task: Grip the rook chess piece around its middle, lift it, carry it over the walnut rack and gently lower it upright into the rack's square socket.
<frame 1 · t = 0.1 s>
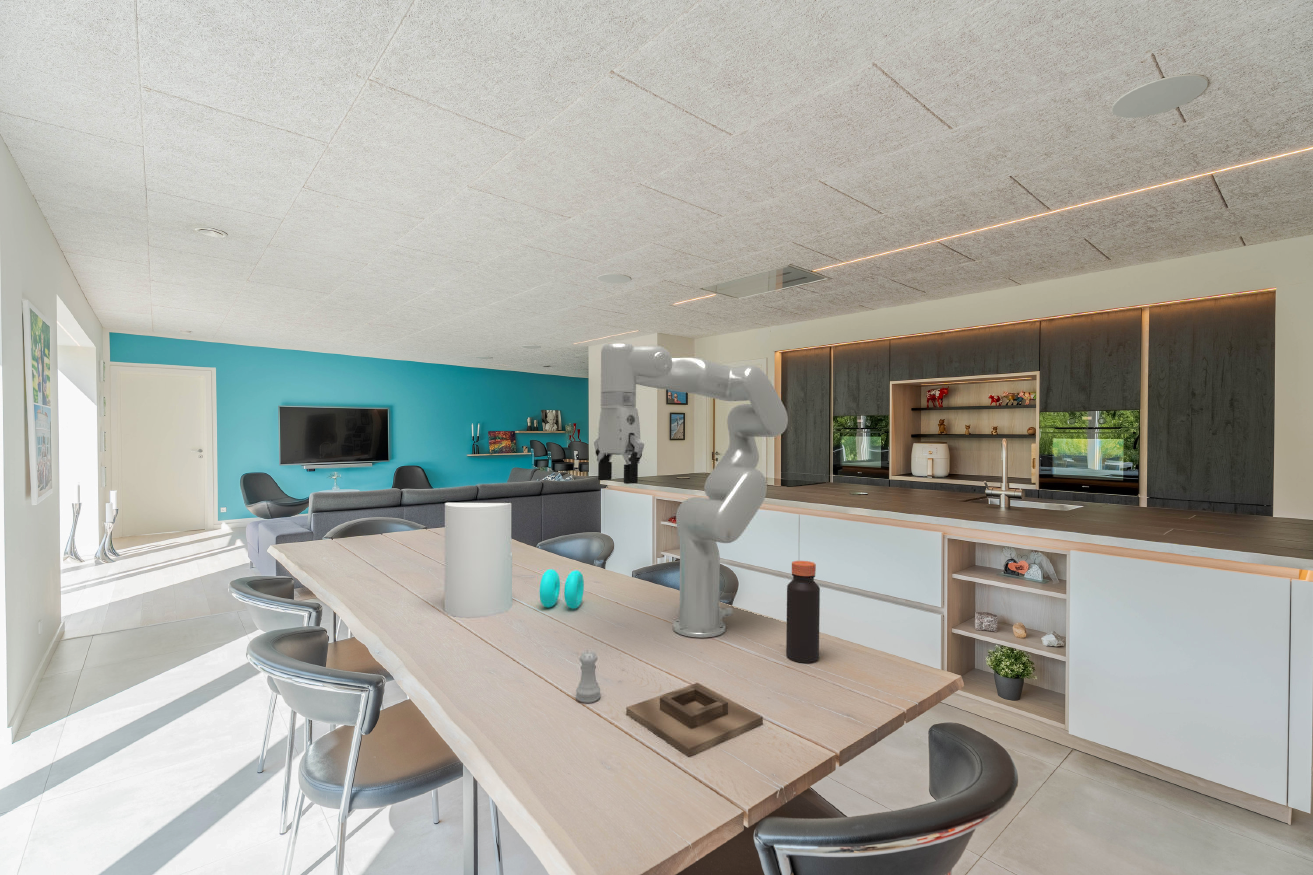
hand: (617, 481, 125), 37 cm above the table, tool pointing down, fingers open, 9 cm apart
donuts: (562, 607, 157), on the table
bottle: (802, 658, 124), on the table
cylinder: (478, 607, 156), on the table
walnut rack: (693, 718, 97), on the table
rook chess piece: (588, 699, 104), on the table
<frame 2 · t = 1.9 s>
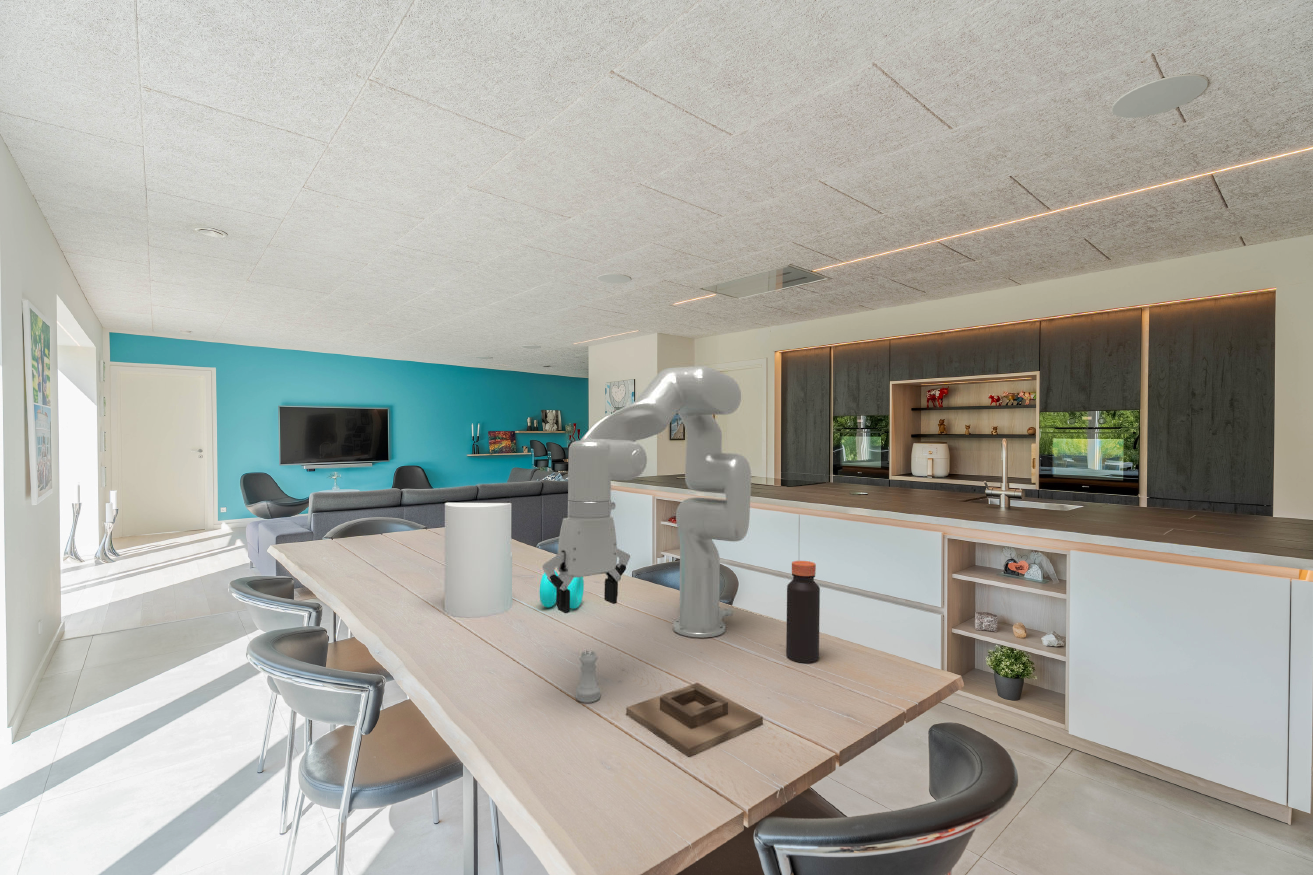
hand: (587, 606, 104), 16 cm above the table, tool pointing down, fingers open, 9 cm apart
nothing on the table moved.
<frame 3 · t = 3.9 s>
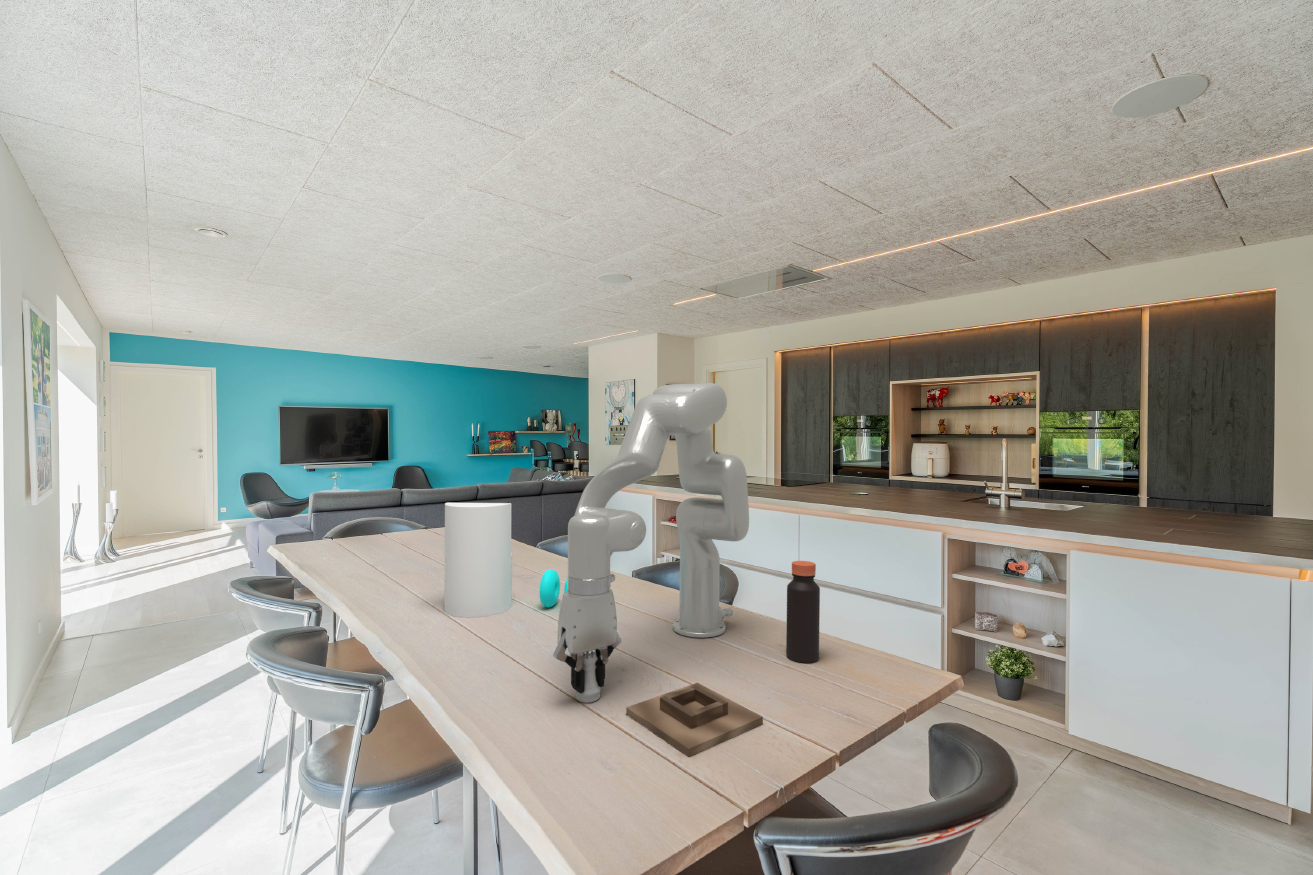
hand: (588, 686, 104), 2 cm above the table, tool pointing down, fingers closed on rook chess piece, 3 cm apart
rook chess piece: (588, 698, 104), on the table, touching gripper
everything else where it was.
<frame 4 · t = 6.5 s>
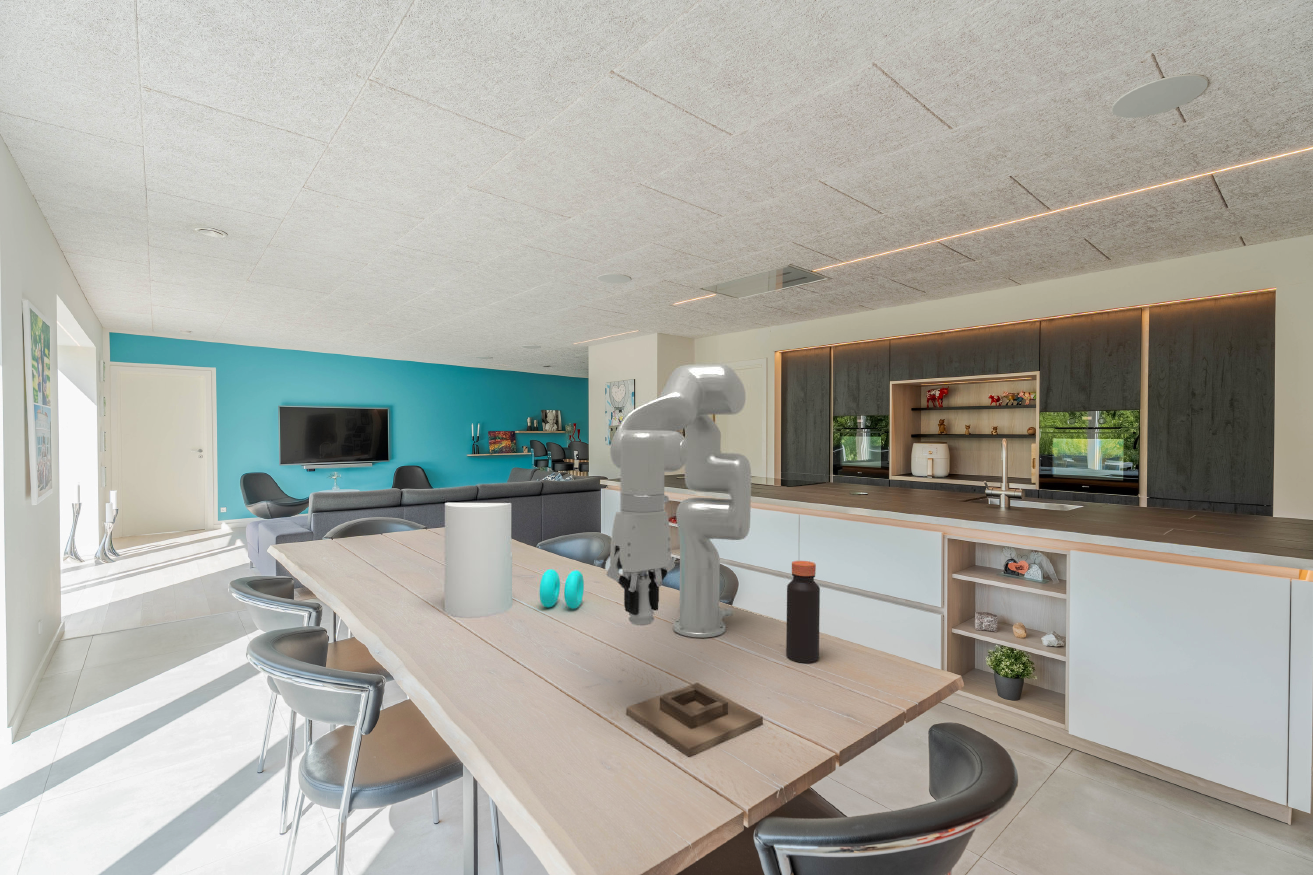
hand: (641, 609, 100), 17 cm above the table, tool pointing down, fingers closed on rook chess piece, 3 cm apart
rook chess piece: (641, 622, 100), point 15 cm above the table, touching gripper
everything else where it was.
when the fingers open (4 cm above the table, at t = 9.3 s): rook chess piece stays where it is, resting on walnut rack.
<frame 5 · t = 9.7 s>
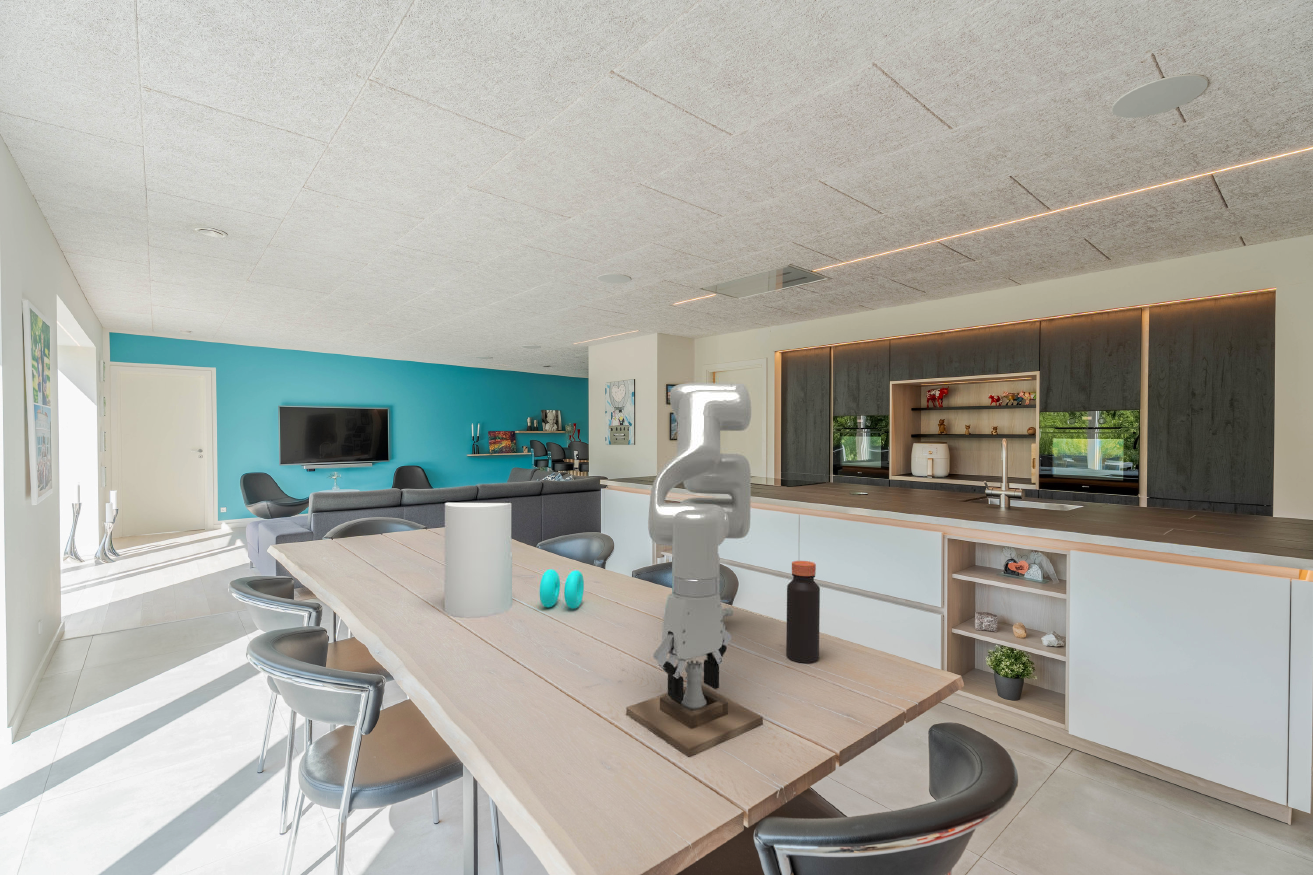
hand: (693, 691, 97), 5 cm above the table, tool pointing down, fingers open, 7 cm apart
rook chess piece: (693, 712, 97), point 1 cm above the table, touching walnut rack
everything else where it was.
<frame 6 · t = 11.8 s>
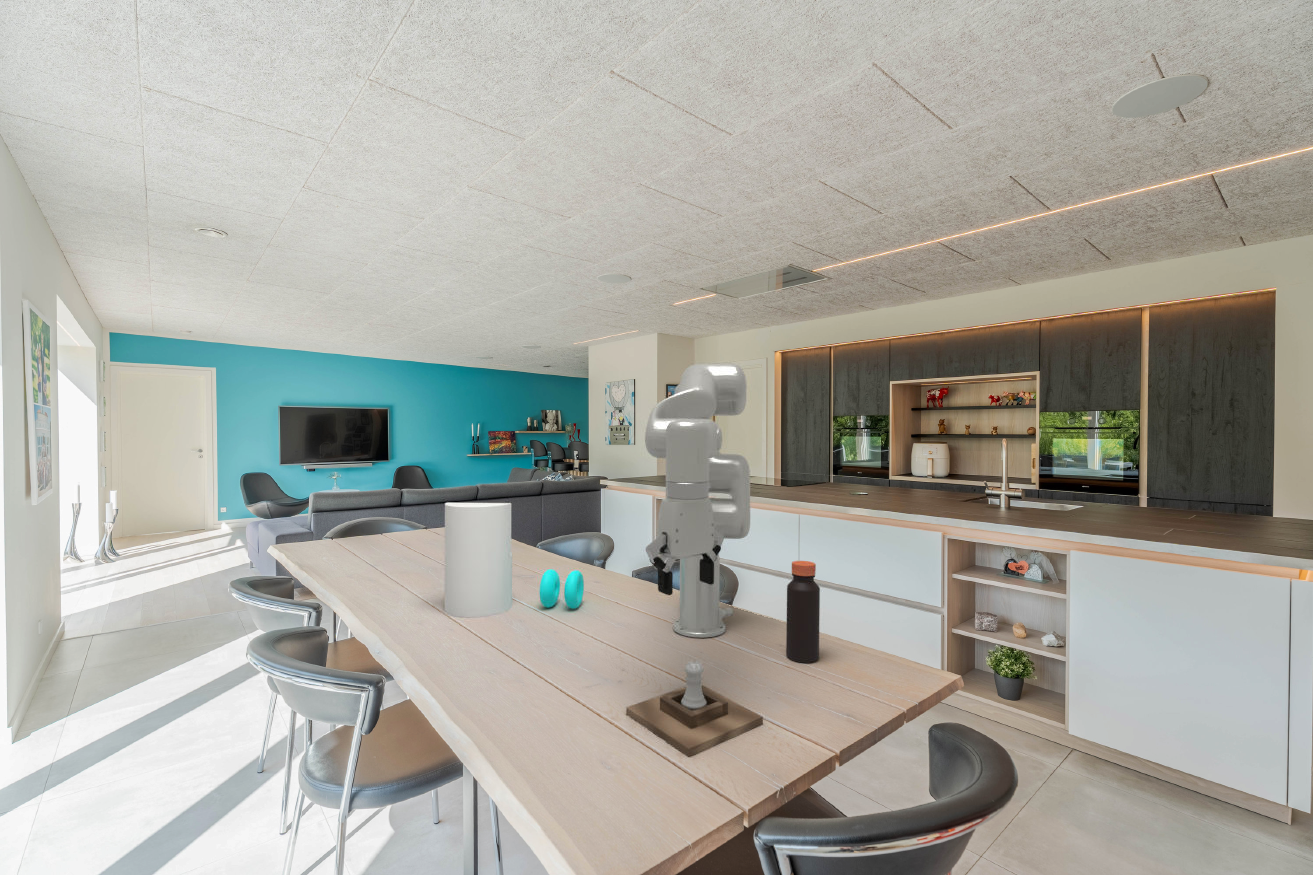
hand: (686, 587, 103), 20 cm above the table, tool pointing down, fingers open, 9 cm apart
nothing on the table moved.
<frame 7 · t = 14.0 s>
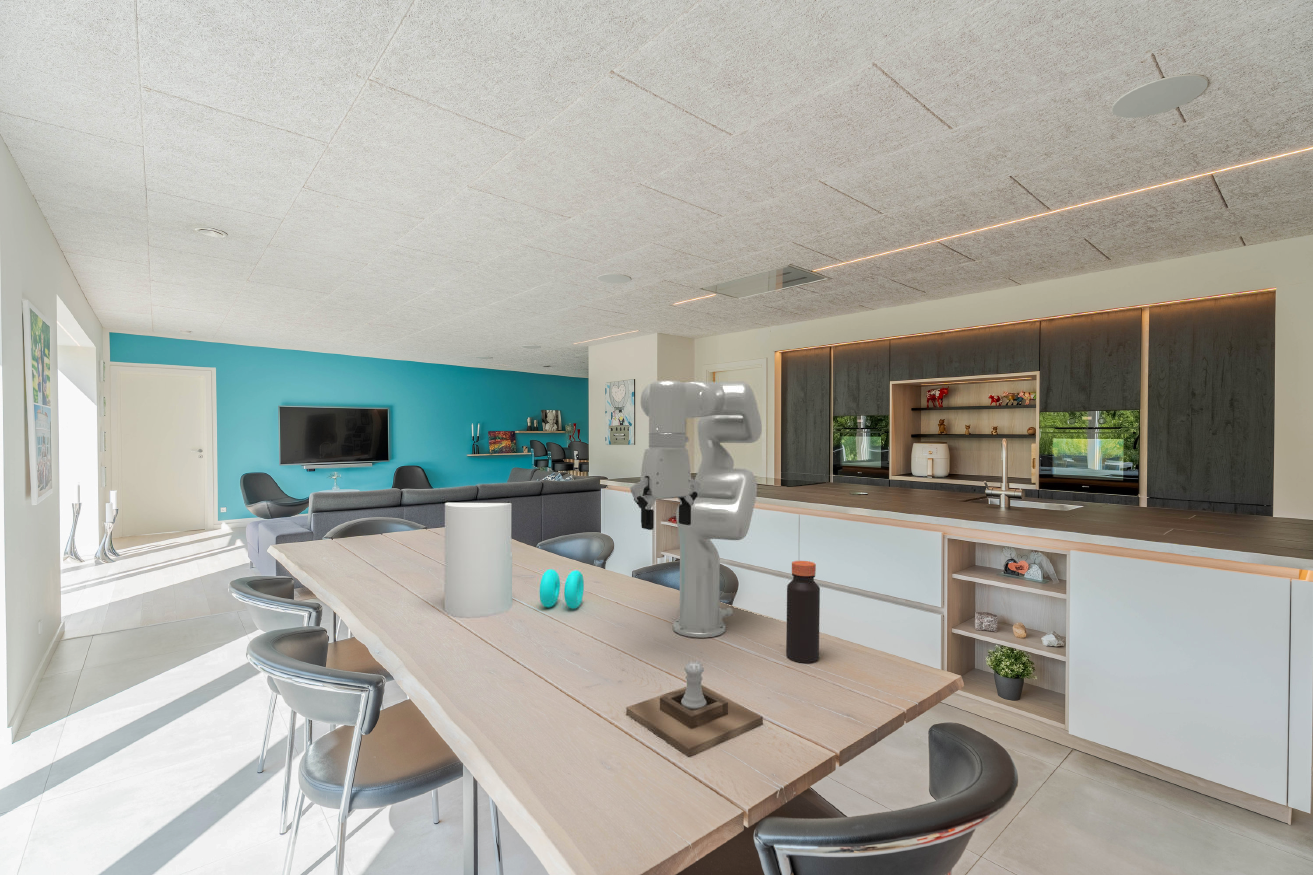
hand: (666, 526, 118), 28 cm above the table, tool pointing down, fingers open, 9 cm apart
nothing on the table moved.
at the end: rook chess piece 0.1 cm off-centre on the walnut rack, point 1.0 cm above the walnut rack's base; rook chess piece tilted 0°; the gripper is holding nothing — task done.
